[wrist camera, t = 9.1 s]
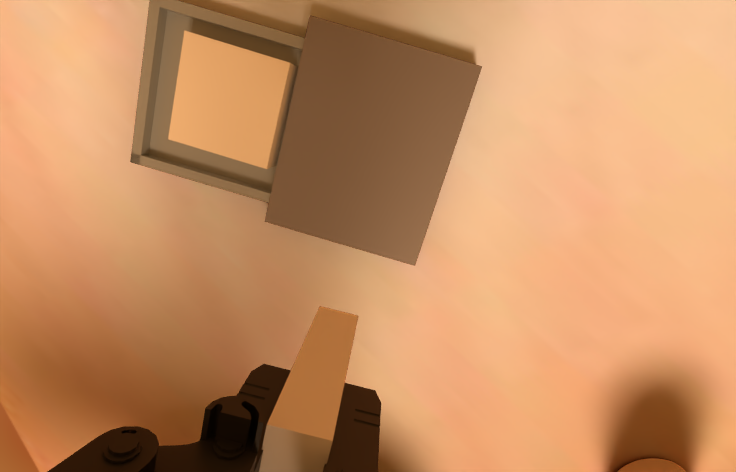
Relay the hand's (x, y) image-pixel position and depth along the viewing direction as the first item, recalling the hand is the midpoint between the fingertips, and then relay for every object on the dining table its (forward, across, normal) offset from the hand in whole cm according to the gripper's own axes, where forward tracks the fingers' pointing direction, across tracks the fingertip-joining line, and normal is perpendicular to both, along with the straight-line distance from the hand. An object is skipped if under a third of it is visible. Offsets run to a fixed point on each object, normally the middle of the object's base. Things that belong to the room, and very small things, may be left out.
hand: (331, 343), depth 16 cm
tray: (+20, +14, -7) cm, 26 cm away
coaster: (+20, +12, -8) cm, 25 cm away
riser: (+20, +2, -7) cm, 21 cm away
